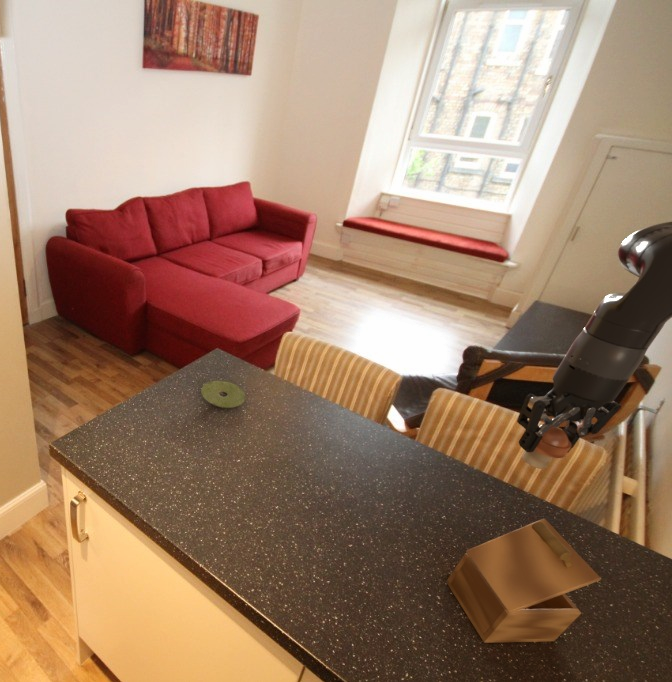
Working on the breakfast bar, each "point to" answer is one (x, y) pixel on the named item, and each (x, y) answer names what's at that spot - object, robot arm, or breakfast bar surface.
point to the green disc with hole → (223, 394)
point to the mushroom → (548, 448)
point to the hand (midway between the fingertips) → (542, 448)
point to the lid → (531, 566)
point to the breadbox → (494, 617)
